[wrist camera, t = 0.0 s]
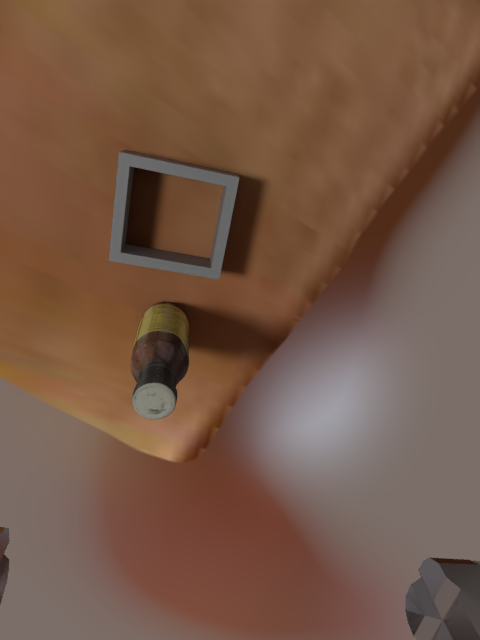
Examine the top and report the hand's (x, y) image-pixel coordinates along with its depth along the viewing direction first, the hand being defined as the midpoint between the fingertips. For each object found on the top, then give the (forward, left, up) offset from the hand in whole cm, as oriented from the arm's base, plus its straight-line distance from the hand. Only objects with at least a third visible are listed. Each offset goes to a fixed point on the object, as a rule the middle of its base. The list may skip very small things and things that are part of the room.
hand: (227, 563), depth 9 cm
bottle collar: (+2, -3, -48) cm, 48 cm away
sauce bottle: (+16, -2, -48) cm, 51 cm away
